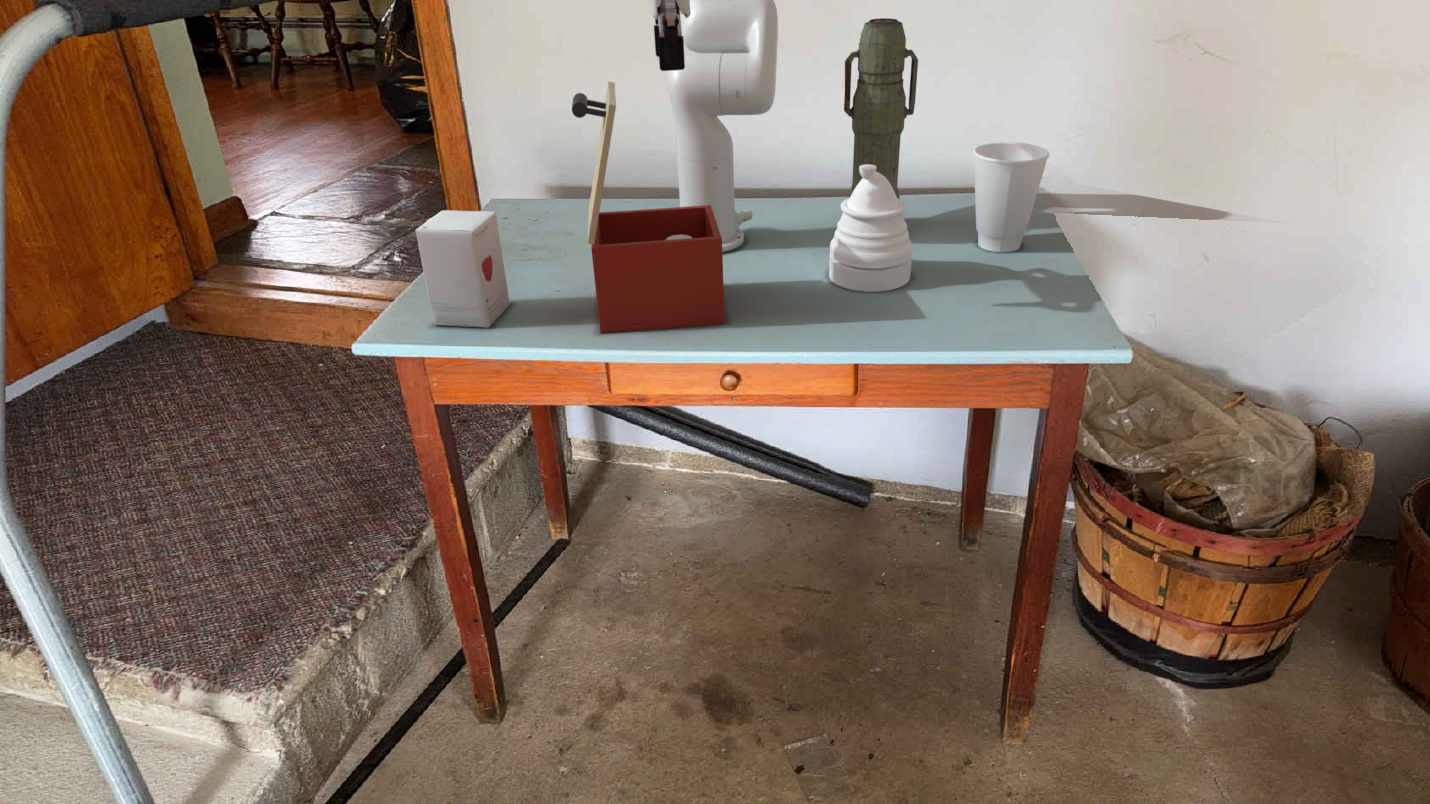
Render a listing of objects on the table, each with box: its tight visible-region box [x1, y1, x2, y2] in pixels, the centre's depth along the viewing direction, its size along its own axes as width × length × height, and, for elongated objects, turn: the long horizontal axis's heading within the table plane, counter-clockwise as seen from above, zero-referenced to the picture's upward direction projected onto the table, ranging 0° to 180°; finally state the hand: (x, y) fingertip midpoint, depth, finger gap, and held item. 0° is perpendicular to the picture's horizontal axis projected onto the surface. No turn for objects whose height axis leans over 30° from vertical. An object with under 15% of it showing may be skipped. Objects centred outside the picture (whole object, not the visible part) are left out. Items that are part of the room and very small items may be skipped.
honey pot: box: [828, 164, 913, 293], centre depth 143 cm, size 13×13×18 cm
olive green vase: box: [843, 17, 919, 200], centre depth 159 cm, size 9×12×35 cm
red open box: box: [590, 205, 726, 334], centre depth 137 cm, size 18×15×13 cm
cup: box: [972, 141, 1050, 253], centre depth 154 cm, size 12×12×16 cm
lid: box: [571, 81, 617, 245], centre depth 128 cm, size 19×15×5 cm
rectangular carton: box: [415, 209, 510, 329], centre depth 136 cm, size 9×9×15 cm
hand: (669, 62), depth 123 cm, fingers open, 9 cm apart
